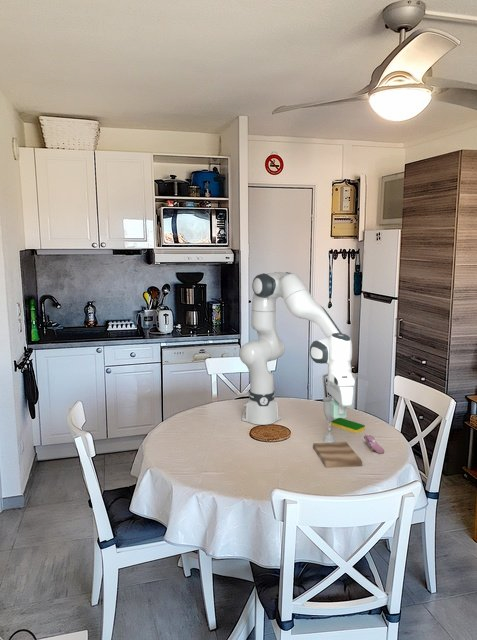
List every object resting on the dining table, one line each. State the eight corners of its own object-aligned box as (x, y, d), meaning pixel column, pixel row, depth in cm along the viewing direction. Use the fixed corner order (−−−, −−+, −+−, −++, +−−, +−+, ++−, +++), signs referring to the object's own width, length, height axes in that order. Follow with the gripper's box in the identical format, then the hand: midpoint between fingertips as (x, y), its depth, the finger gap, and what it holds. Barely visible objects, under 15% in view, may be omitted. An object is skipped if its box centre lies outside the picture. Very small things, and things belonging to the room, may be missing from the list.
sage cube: (329, 413, 189) (330, 401, 189) (342, 413, 190) (342, 401, 189) (333, 418, 184) (334, 405, 184) (346, 417, 185) (346, 405, 184)
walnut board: (313, 447, 198) (313, 443, 198) (346, 446, 199) (346, 441, 199) (325, 467, 180) (326, 462, 180) (361, 466, 182) (362, 461, 181)
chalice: (337, 444, 202) (339, 403, 199) (320, 442, 203) (322, 401, 200) (337, 437, 209) (338, 397, 206) (321, 436, 210) (322, 396, 207)
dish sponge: (339, 422, 228) (339, 417, 228) (365, 430, 218) (365, 425, 218) (330, 425, 224) (330, 420, 223) (356, 434, 214) (356, 429, 213)
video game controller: (366, 448, 202) (360, 434, 201) (376, 443, 202) (369, 429, 201) (375, 458, 192) (368, 443, 191) (385, 453, 192) (378, 438, 191)
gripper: (323, 369, 195) (322, 402, 197) (339, 383, 175) (338, 419, 177) (338, 368, 195) (337, 401, 197) (356, 382, 175) (355, 419, 177)
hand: (338, 410), depth 187 cm, fingers closed on sage cube, 5 cm apart
